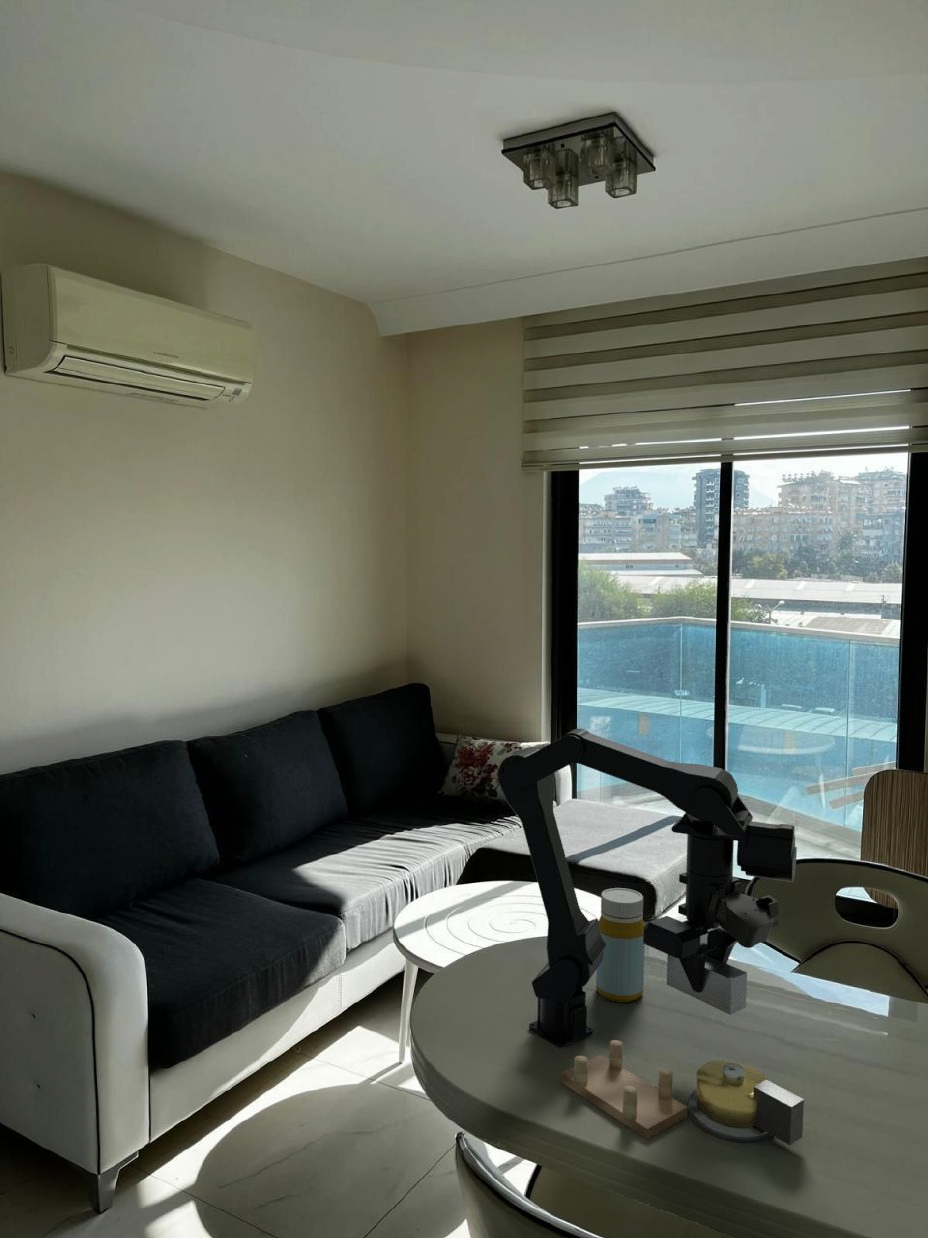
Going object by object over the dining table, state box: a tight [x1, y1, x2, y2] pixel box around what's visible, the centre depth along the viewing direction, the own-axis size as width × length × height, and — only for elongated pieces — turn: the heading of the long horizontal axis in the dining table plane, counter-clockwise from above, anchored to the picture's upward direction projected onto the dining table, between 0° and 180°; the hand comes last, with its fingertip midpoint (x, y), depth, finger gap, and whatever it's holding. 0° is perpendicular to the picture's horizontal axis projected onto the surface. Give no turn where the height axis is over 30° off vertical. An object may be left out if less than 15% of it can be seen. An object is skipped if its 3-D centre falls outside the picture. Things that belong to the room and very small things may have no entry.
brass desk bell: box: [687, 1062, 772, 1143], centre depth 109 cm, size 10×10×6 cm
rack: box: [560, 1039, 688, 1140], centre depth 112 cm, size 14×8×4 cm, turn 38°
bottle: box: [595, 887, 646, 1003], centre depth 139 cm, size 7×7×15 cm
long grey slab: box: [666, 954, 748, 1015], centre depth 119 cm, size 10×3×4 cm, turn 38°
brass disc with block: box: [695, 1060, 805, 1146], centre depth 108 cm, size 13×8×4 cm
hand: (705, 987), depth 119 cm, fingers closed on long grey slab, 3 cm apart
